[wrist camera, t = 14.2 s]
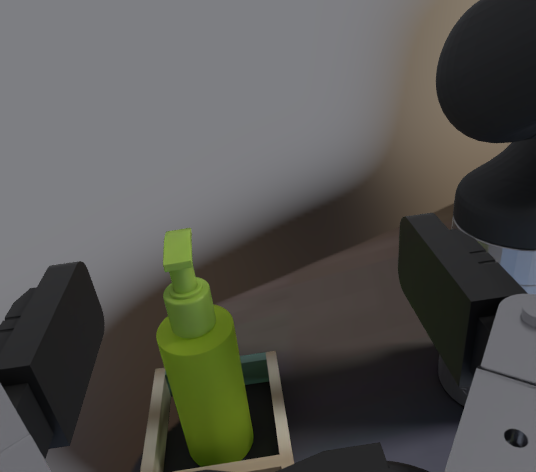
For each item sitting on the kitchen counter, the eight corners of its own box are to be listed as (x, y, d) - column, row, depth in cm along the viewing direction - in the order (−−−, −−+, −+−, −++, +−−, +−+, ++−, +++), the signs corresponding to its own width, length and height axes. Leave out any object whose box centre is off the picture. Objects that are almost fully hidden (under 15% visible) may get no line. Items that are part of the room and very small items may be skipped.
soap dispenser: (247, 398, 46) (215, 217, 36) (257, 462, 40) (222, 265, 30) (188, 410, 45) (138, 230, 35) (188, 476, 39) (129, 281, 30)
